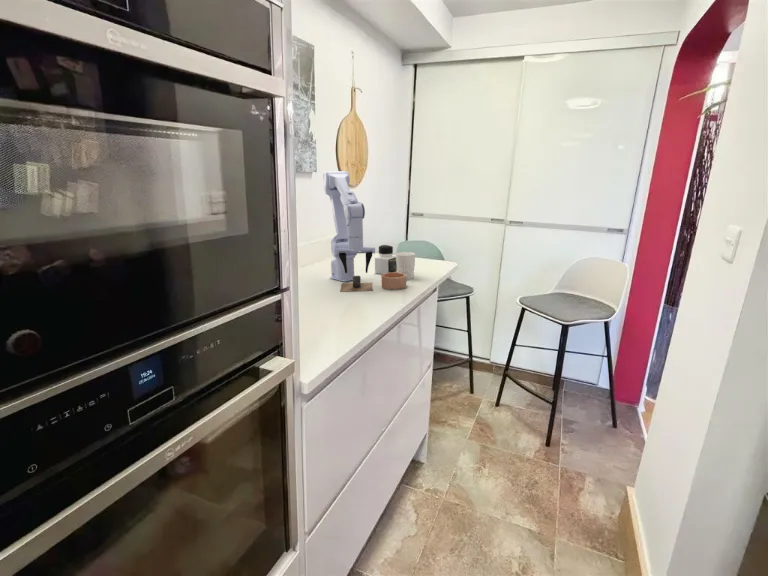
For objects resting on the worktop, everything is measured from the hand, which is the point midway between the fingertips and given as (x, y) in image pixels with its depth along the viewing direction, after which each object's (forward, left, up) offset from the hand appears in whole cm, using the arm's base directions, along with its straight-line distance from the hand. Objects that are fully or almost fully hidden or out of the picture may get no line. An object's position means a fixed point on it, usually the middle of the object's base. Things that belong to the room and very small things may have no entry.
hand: (356, 272), depth 161 cm
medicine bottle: (-8, +25, -6) cm, 27 cm away
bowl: (+10, +10, -6) cm, 15 cm away
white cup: (+4, +24, -6) cm, 25 cm away
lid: (0, 0, -6) cm, 6 cm away
